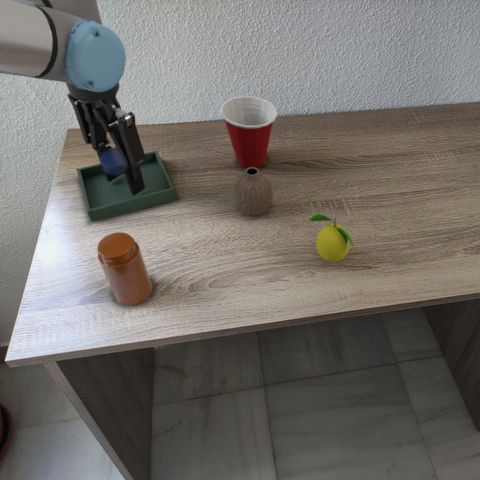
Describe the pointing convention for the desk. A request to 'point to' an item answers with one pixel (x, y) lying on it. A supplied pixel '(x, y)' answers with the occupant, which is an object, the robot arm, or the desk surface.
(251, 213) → the vase
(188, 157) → the desk surface
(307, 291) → the desk surface
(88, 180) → the tray
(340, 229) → the lemon
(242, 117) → the plastic cup
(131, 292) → the jam jar
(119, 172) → the jar lid
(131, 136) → the robot arm
